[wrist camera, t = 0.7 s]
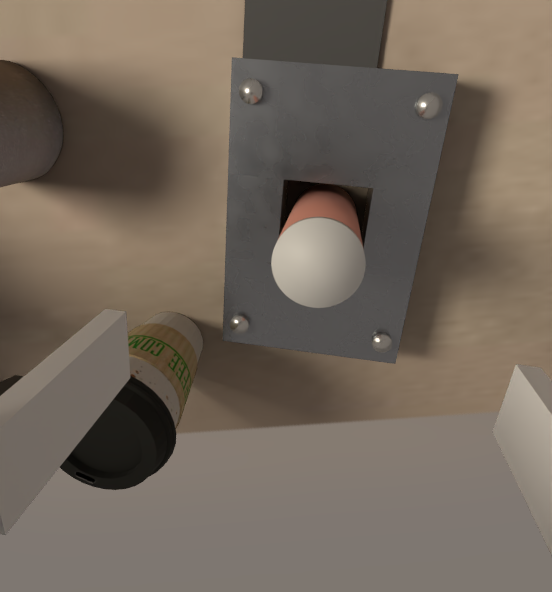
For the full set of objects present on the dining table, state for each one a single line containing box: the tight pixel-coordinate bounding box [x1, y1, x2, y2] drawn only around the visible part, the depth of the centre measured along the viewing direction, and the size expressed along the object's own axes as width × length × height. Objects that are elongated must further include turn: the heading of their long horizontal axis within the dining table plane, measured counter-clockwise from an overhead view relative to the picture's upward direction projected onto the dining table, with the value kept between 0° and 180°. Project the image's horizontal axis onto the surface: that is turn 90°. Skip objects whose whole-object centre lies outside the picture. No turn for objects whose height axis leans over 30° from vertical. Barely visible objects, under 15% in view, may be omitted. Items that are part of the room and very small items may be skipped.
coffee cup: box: [60, 312, 203, 490], centre depth 37 cm, size 10×10×15 cm
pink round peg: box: [271, 184, 366, 308], centre depth 31 cm, size 5×5×13 cm
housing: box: [223, 58, 458, 364], centre depth 35 cm, size 15×22×5 cm
